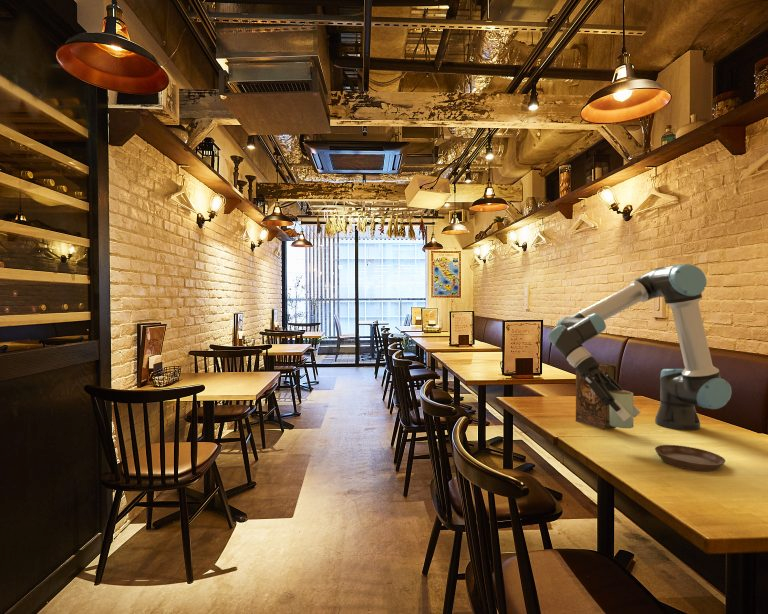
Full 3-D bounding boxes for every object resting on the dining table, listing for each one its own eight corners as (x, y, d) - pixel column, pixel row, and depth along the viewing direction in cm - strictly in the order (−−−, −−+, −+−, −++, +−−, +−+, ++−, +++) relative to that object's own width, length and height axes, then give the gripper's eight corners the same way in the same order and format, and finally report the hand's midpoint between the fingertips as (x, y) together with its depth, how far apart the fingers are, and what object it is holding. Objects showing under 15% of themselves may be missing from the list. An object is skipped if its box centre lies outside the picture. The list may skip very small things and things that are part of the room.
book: (573, 420, 185) (573, 361, 185) (583, 419, 187) (583, 360, 187) (606, 430, 169) (606, 365, 169) (616, 429, 171) (616, 365, 171)
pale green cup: (628, 423, 148) (628, 389, 149) (637, 428, 142) (636, 393, 142) (606, 422, 150) (606, 389, 150) (613, 427, 143) (613, 393, 143)
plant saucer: (720, 460, 137) (720, 450, 137) (730, 478, 122) (730, 467, 122) (654, 450, 146) (654, 441, 146) (655, 466, 131) (655, 456, 131)
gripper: (589, 366, 164) (636, 418, 151) (561, 371, 152) (610, 428, 139) (604, 353, 160) (653, 405, 147) (576, 357, 147) (627, 415, 135)
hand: (632, 416), depth 143 cm, fingers closed on pale green cup, 7 cm apart
